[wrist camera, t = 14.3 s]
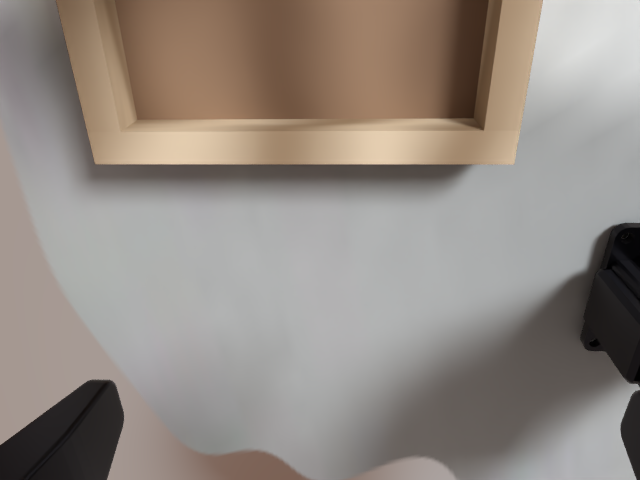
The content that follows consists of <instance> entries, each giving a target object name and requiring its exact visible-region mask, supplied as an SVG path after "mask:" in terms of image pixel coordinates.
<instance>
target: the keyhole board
mask: <svg viewBox="0 0 640 480" xmlns="http://www.w3.org/2000/svg"><path fill="white" fill-rule="evenodd" d="M542 2H543V0H56V3H57V7H58V12H59V16H60V20H61V24H62V28H63V32H64V37H65V41H66V45H67V49H68V53H69V57H70V62H71V66H72V70H73V74H74V78H75V82H76V87H77V91H78V95H79V99H80V103H81V107H82V112H83V116H84V120H85V124H86V128H87V133H88V137H89V141H90V145H91V149H92V153H93V158H94V162H95V164H514V162H515V156H516V151H517V145H518V139H519V134H520V128H521V122H522V116H523V111H524V105H525V99H526V94H527V88H528V82H529V77H530V71H531V65H532V59H533V54H534V48H535V42H536V37H537V31H538V25H539V20H540V14H541V8H542Z"/></svg>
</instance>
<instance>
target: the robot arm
mask: <svg viewBox="0 0 640 480" xmlns="http://www.w3.org/2000/svg"><path fill="white" fill-rule="evenodd" d="M626 233H629V235H628V236H627V237H626V238H625V239H621V237H622V236H623V235H624V234H626ZM584 320H585V323H584V327H583V330H582V334H581V337H580V340H581V342H582V344H583V345H584V347H585V349H587V350H589V351H606V352H607V354H608V355H609V357H610V358H611V360H612V361H613V363H614V364H615V366H616V367H617V369H618V370H619V372H620V373H621V375H622V376H623V378H624V379H625V380H626V381H627V382H629V383H630V384H638V385H639V387H640V223H623V224H620V225H618V226H616V227H615V228H614V229H613V230H612V232H611V234H610V237H609V241H608V244H607V248H606V251H605V254H604V258H603V261H602V265H601V268H600V270H599V271H598V272H597V273H596V275H595V279H594V282H593V286H592V289H591V293H590V296H589V300H588V303H587V306H586V310H585V313H584ZM595 338H596V339H595ZM592 339H595V340H594V341H591V340H592ZM123 421H124V412H123V408H122V405H121V401H120V398H119V394H118V391H117V387H116V385H115V383H114V382H113V381H111V380H90V381H87V382H86V383H84V384H83V385H81V386H80V387H79V388H77V389H76V390H75V391H74V392H72V393H71V394H69V395H68V396H67V397H65V398H64V399H62V400H61V401H60V402H58V403H57V404H56V405H54V406H53V407H52V408H50V409H49V410H47V411H46V412H45V413H43V414H42V415H41V416H39V417H38V418H37V419H35V420H34V421H33V422H31V423H30V424H29V425H27V426H26V427H25V428H23V429H22V430H20V431H19V432H18V433H16V434H15V435H14V436H12V437H11V438H10V439H8V440H7V441H5V442H4V443H3V444H1V445H0V480H107V478H108V474H109V471H110V468H111V464H112V461H113V457H114V454H115V451H116V447H117V444H118V440H119V437H120V434H121V431H122V427H123ZM621 437H622V440H623V443H624V446H625V448H626V451H627V454H628V457H629V460H630V462H631V465H632V468H633V471H634V473H635V476H636V479H637V480H640V390H638V391H635V392H634V393H633V394H632V396H631V398H630V401H629V403H628V406H627V409H626V411H625V414H624V417H623V419H622V422H621Z"/></svg>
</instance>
